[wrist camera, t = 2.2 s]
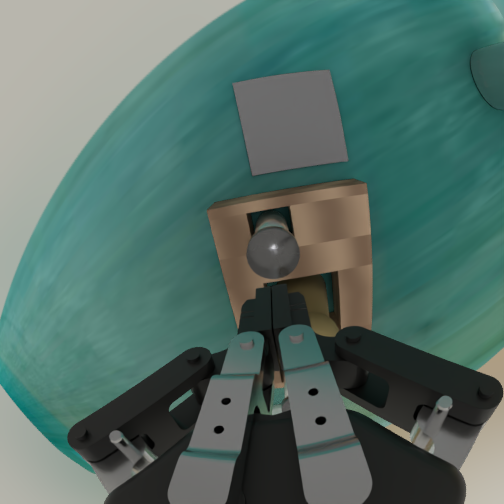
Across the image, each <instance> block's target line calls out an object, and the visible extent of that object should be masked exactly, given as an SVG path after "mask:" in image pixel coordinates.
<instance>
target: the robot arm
mask: <svg viewBox="0 0 504 504" xmlns="http://www.w3.org/2000/svg"><path fill="white" fill-rule="evenodd" d="M471 70H472V74H473V77H474V80H475V83H476V85H477V87H478V89H479V91H480V93H481V94H482V96H483V97H484V99H485V100H486V101H487V102H488V103H489V104H490V105H491V106H492V107H494V108H496V109H499V110H504V42H501V43H497V44H494V45H490V46H487V47H484V48H481V49H478V50H475V51H474V52H473V53H472V56H471ZM279 360H280V361H279ZM280 365H281V370H284V373H285V379H286V385H287V391H288V397H289V403H290V409H291V410H288V411H285V412H282V413H279V414H275V415H272V410H273V399H274V388H275V384H274V371H280ZM190 389H191V391H192V393H193V394H192V395H191V396H190V397H188V398H187V399H186V400H184V401H183V402H182V403H181V404H179V405H178V406H177V407H175V408H174V409H173V410H171V411H170V412H169V407H170V405H171V404H172V403H173V402H174V401H175V400H177V399H178V398H179V397H181V396H182V395H183V394H185V393H186V392H187V391H189V390H190ZM341 395H342V396H344V397H346V398H347V399H349V400H351V401H352V402H354V403H356V404H358V405H359V406H361V407H363V408H365V409H366V410H368V411H370V412H372V413H374V414H375V415H377V416H379V417H381V418H383V419H384V420H386V421H388V422H390V423H392V424H394V425H396V426H398V427H400V428H402V429H404V430H405V431H407V432H409V433H410V439H411V442H412V443H411V442H409V441H407V440H406V439H404V438H402V437H400V436H398V435H397V434H395V433H393V432H392V431H390V430H388V429H387V428H385V427H383V426H382V425H380V424H378V423H377V422H375V421H373V420H372V419H370V418H369V417H367V416H365V415H363V414H361V413H359V412H356V411H352V410H348V409H346V408H345V406H344V403H343V400H342V397H341ZM502 397H503V388H502V385H501V384H500V382H499V381H498V380H497V379H495V378H494V377H491V376H489V375H486V374H483V373H480V372H477V371H475V370H472V369H469V368H467V367H464V366H461V365H458V364H456V363H453V362H450V361H448V360H445V359H442V358H440V357H437V356H434V355H432V354H429V353H427V352H424V351H421V350H419V349H416V348H414V347H411V346H409V345H406V344H404V343H401V342H399V341H396V340H393V339H391V338H388V337H386V336H384V335H381V334H379V333H376V332H374V331H371V330H369V329H366V328H364V327H360V326H349V327H345V328H343V329H341V330H340V331H338V332H337V334H336V335H335V337H328V336H322V335H319V334H317V333H315V332H314V331H313V329H312V327H311V323H310V319H309V314H308V310H307V306H306V302H305V298H304V296H303V295H302V294H301V293H300V292H293V293H288V290H287V284H280V285H274V286H272V289H271V286H268V287H262V288H256V295H255V299H248V300H246V301H245V303H244V304H243V305H242V308H241V315H240V321H239V328H238V335H236V336H235V337H234V338H233V339H232V340H231V341H230V344H229V347H228V349H226V350H224V351H221V352H218V353H215V354H212V355H211V353H210V351H209V350H208V349H206V348H203V347H195V348H191V349H188V350H186V351H185V352H183V353H182V354H180V355H179V356H177V357H176V358H175V359H173V360H172V361H170V362H169V363H168V364H166V365H165V366H163V367H162V368H160V369H159V370H157V371H156V372H155V373H153V374H152V375H150V376H149V377H147V378H146V379H144V380H143V381H141V382H140V383H138V384H137V385H135V386H134V387H132V388H131V389H129V390H128V391H126V392H125V393H123V394H122V395H120V396H119V397H117V398H116V399H114V400H113V401H111V402H110V403H108V404H107V405H105V406H103V407H102V408H100V409H99V410H97V411H96V412H94V413H92V414H91V415H89V416H88V417H86V418H85V419H83V420H81V421H80V422H78V423H76V424H75V425H74V426H73V427H72V428H71V429H70V431H69V433H68V443H69V445H70V446H71V447H72V448H73V449H74V450H75V451H77V452H78V453H79V454H80V455H81V456H82V457H83V459H84V460H86V461H87V462H88V463H89V464H90V465H91V466H92V468H93V470H94V471H95V473H96V475H97V476H98V478H99V480H100V481H101V483H102V484H103V486H104V487H105V489H106V490H107V492H108V493H109V495H108V497H107V498H106V500H105V502H104V504H464V501H465V497H466V484H465V480H464V478H463V476H462V474H461V473H460V471H459V470H460V468H461V466H462V464H463V463H464V461H465V459H466V457H467V456H468V454H469V452H470V450H471V448H472V446H473V444H474V442H475V440H476V438H477V436H478V434H479V432H480V431H481V430H482V428H483V427H484V425H485V424H486V423H487V421H488V420H489V418H490V417H491V415H492V414H493V412H494V411H495V409H496V408H497V406H498V405H499V403H500V402H501V400H502Z"/></svg>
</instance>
